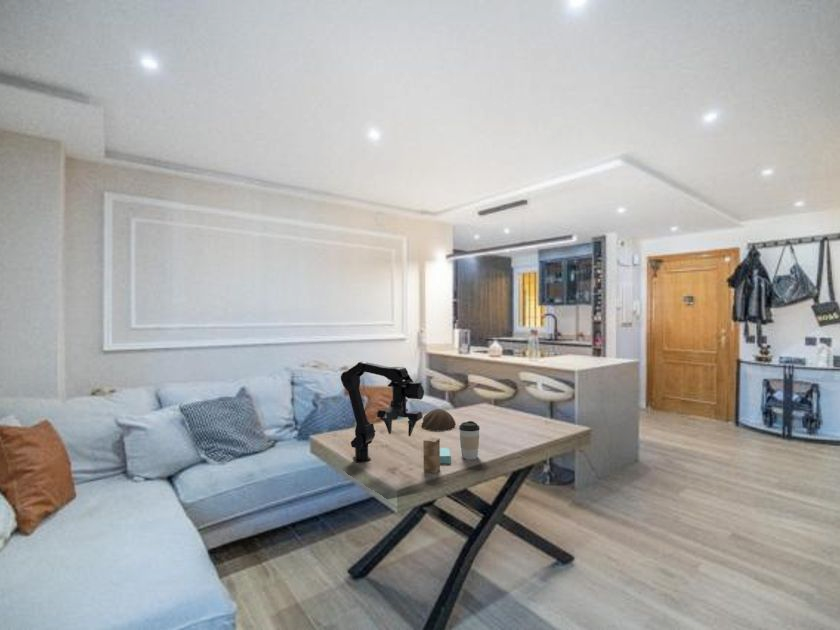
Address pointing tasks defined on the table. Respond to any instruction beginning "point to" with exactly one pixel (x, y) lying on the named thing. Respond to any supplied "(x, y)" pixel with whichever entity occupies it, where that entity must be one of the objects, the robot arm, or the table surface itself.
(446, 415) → the decorative dome
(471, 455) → the coffee cup
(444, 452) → the base
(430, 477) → the table surface
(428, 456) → the block
